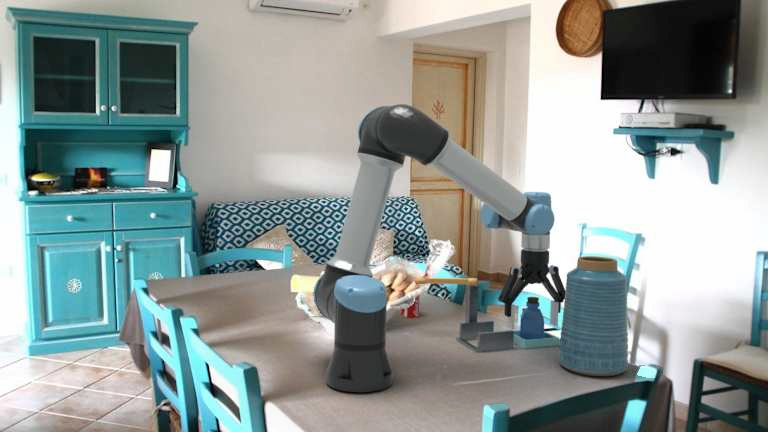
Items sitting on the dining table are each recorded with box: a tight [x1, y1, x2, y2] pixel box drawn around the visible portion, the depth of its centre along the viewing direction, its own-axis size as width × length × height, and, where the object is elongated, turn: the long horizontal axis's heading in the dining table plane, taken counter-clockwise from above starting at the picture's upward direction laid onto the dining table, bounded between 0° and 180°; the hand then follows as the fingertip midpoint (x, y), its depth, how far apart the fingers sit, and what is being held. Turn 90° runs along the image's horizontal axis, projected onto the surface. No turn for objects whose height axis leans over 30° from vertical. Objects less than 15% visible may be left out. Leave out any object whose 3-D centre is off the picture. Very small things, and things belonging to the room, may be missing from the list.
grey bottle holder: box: [455, 284, 514, 353], centre depth 190 cm, size 16×11×15 cm
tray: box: [512, 329, 561, 350], centre depth 191 cm, size 11×11×2 cm
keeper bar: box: [414, 276, 478, 286], centre depth 196 cm, size 17×3×2 cm, turn 90°
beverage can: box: [400, 295, 421, 319], centre depth 216 cm, size 6×6×12 cm
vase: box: [557, 255, 629, 377], centre depth 169 cm, size 16×16×27 cm
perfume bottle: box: [519, 296, 545, 340], centre depth 190 cm, size 6×6×12 cm
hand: (532, 326), depth 191 cm, fingers open, 13 cm apart
